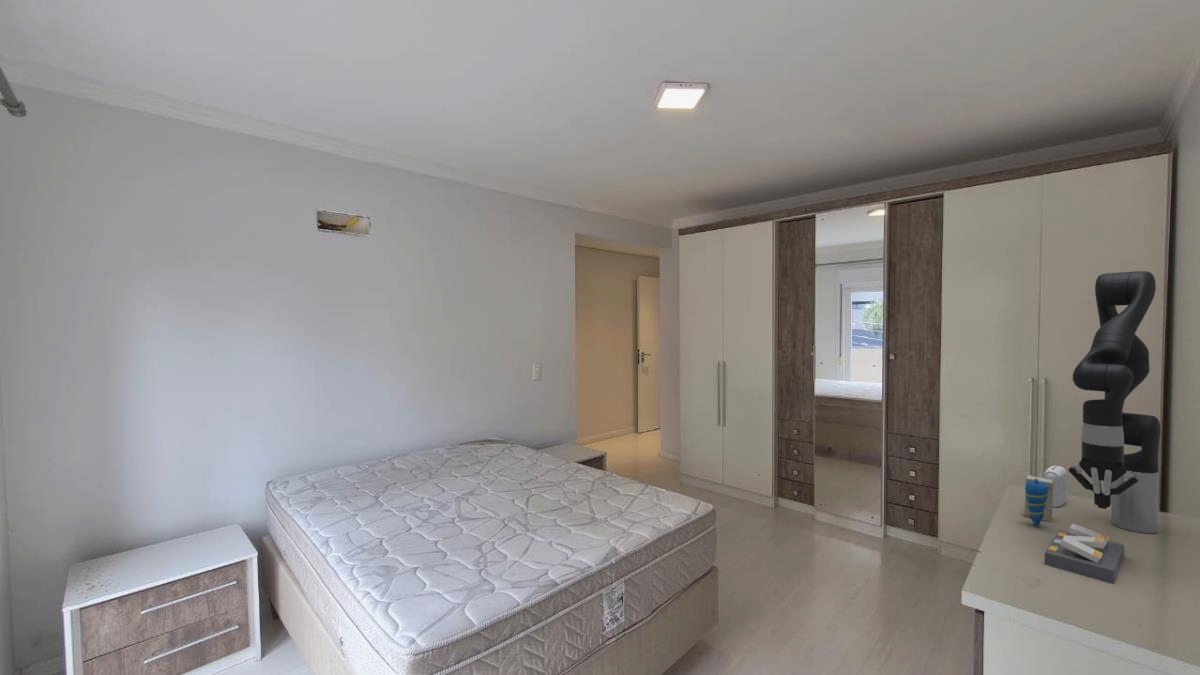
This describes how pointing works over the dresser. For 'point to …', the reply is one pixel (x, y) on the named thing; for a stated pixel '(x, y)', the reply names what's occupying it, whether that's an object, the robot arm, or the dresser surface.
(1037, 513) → the ornament
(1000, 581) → the dresser surface
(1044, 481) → the skincare box
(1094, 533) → the rocker inner
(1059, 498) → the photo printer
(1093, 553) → the rocker outer
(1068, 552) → the switch unit
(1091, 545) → the rocker middle
